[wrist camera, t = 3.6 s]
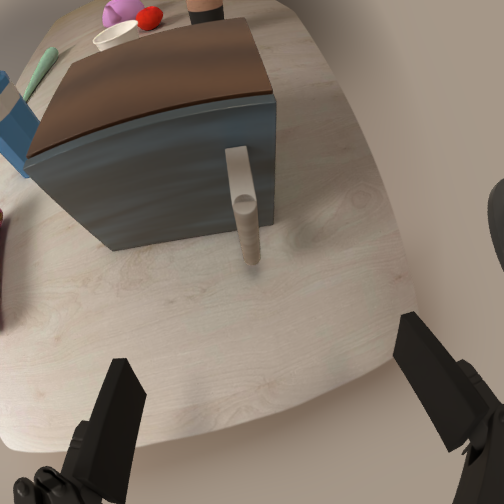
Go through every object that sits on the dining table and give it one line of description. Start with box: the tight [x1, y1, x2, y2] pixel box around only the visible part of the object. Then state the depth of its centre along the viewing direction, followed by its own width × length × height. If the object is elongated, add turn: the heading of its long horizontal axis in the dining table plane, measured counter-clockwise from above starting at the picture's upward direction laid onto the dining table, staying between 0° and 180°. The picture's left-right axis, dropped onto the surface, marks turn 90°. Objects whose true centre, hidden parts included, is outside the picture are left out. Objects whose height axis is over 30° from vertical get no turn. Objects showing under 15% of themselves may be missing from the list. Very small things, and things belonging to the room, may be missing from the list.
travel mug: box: [186, 0, 224, 25], centre depth 43 cm, size 8×8×20 cm
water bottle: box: [0, 71, 40, 178], centre depth 30 cm, size 9×9×25 cm
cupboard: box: [26, 17, 273, 159], centre depth 28 cm, size 15×20×18 cm
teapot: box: [102, 0, 144, 28], centre depth 57 cm, size 20×14×12 cm
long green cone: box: [23, 47, 58, 102], centre depth 53 cm, size 5×6×27 cm
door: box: [23, 94, 276, 265], centre depth 24 cm, size 7×20×18 cm, turn 98°
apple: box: [136, 6, 163, 30], centre depth 55 cm, size 8×8×7 cm
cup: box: [93, 20, 139, 52], centre depth 44 cm, size 10×10×11 cm
